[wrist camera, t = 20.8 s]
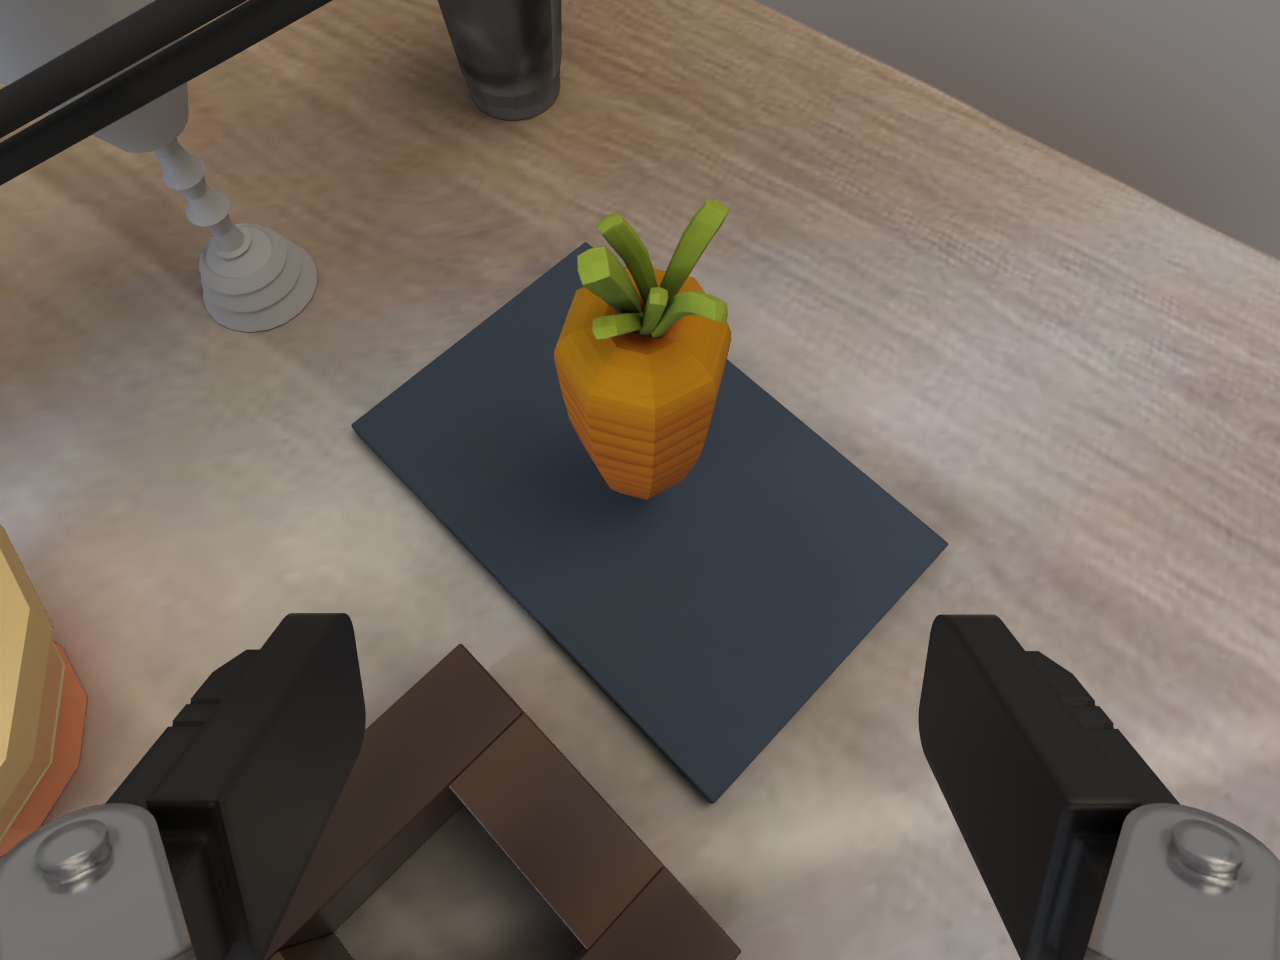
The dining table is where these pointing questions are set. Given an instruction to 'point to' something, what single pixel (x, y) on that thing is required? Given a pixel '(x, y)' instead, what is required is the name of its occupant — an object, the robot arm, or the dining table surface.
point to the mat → (655, 537)
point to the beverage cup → (507, 53)
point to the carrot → (643, 356)
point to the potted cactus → (32, 706)
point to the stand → (491, 827)
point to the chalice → (170, 168)
